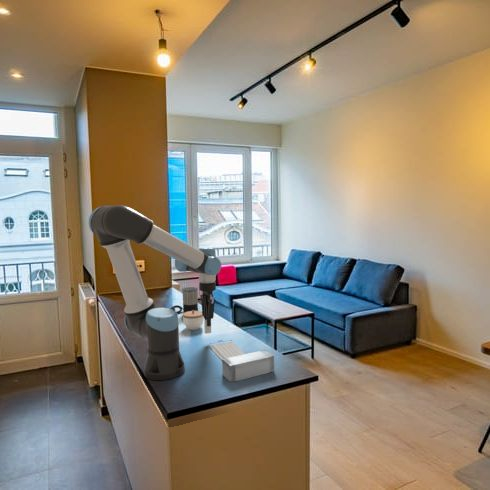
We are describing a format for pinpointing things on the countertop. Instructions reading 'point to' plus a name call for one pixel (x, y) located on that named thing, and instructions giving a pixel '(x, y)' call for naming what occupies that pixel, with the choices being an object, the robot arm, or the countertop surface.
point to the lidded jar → (193, 319)
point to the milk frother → (188, 300)
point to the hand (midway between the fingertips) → (207, 332)
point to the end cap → (247, 365)
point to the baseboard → (226, 350)
